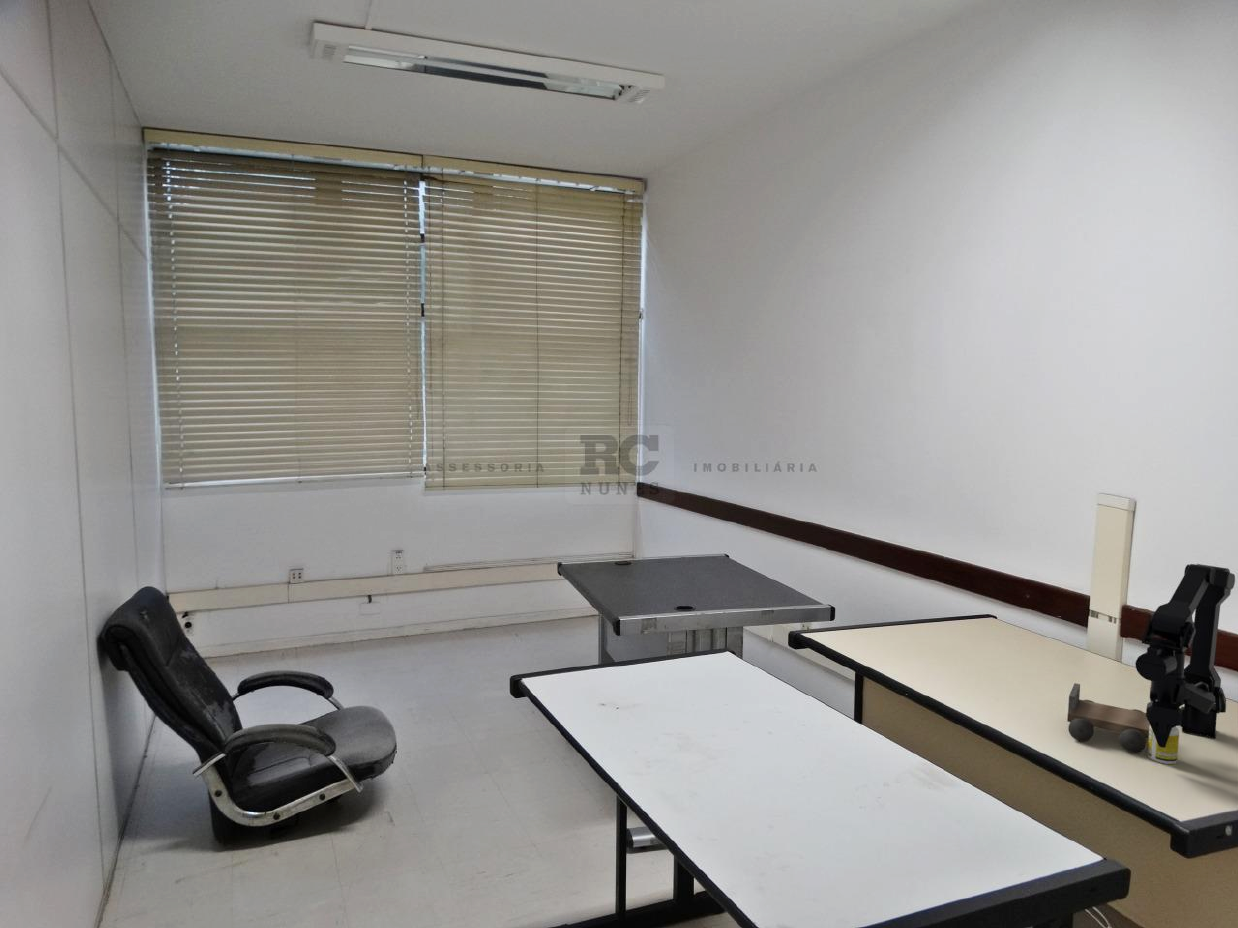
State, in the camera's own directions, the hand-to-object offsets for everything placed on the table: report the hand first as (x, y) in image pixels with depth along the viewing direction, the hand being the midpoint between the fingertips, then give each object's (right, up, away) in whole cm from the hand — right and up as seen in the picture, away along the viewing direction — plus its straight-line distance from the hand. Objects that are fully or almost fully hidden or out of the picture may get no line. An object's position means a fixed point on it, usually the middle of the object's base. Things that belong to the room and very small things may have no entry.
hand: (1162, 739), depth 175 cm
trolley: (-5, -3, +12) cm, 13 cm away
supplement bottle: (0, -5, +1) cm, 5 cm away
